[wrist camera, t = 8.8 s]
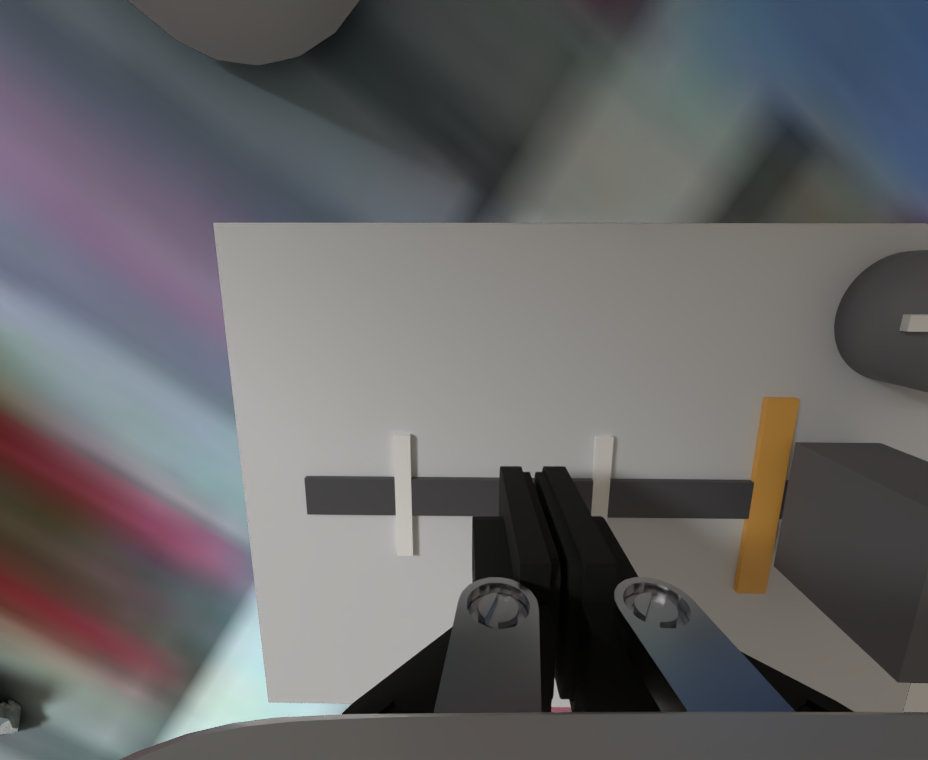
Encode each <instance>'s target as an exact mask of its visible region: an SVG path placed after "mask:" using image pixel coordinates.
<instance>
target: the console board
mask: <svg viewBox="0 0 928 760" xmlns="http://www.w3.org/2000/svg"><path fill="white" fill-rule="evenodd" d="M213 226H214V235H215V243H216V252H217V261H218V269H219V278H220V287H221V295H222V304H223V313H224V321H225V330H226V339H227V347H228V356H229V365H230V373H231V382H232V390H233V399H234V408H235V416H236V425H237V434H238V442H239V451H240V460H241V468H242V477H243V486H244V494H245V503H246V512H247V520H248V529H249V538H250V546H251V555H252V564H253V572H254V581H255V589H256V598H257V607H258V615H259V624H260V633H261V641H262V650H263V659H264V667H265V676H266V685H267V693H268V702H278V703H340V704H352V703H354V702H355V701H356V700H357V699H359V698H360V697H361V696H363V695H364V694H365V693H366V692H368V691H369V690H370V689H372V688H373V687H374V686H376V685H377V684H378V683H379V682H381V681H382V680H383V679H385V678H386V677H387V676H389V675H390V674H391V673H393V672H394V671H395V670H396V669H398V668H399V667H400V666H402V665H403V664H404V663H406V662H407V661H408V660H410V659H411V658H412V657H413V656H415V655H416V654H417V653H419V652H420V651H421V650H423V649H424V648H425V647H427V646H428V645H429V644H430V643H432V642H433V641H434V640H436V639H437V638H438V637H440V636H441V635H442V634H443V633H445V632H446V631H447V630H449V629H450V628H451V627H453V622H454V618H455V613H456V609H457V604H458V600H459V597H460V595H461V593H462V591H463V590H464V589H465V588H466V587H467V586H468V585H469V584H471V583H472V516H499V474H500V466H521V467H522V470H523V472H530V474H531V477H532V480H533V483H534V478H535V472H542V469H543V466H565V467H566V469H567V471H568V472H569V474H570V476H571V478H572V480H573V482H574V484H575V486H576V487H577V489H578V491H579V493H580V495H581V497H582V499H583V501H584V502H585V504H586V506H587V508H588V510H589V512H590V514H591V515H592V516H602V517H603V518H604V519H605V520H606V522H607V523H608V525H609V527H610V529H611V530H612V532H613V534H614V535H615V537H616V539H617V541H618V542H619V544H620V546H621V548H622V549H623V551H624V553H625V554H626V556H627V558H628V560H629V561H630V563H631V565H632V566H633V568H634V570H635V572H636V573H637V575H638V577H648V578H653V579H658V580H661V581H664V582H667V583H669V584H672V585H674V586H675V587H677V588H679V589H680V590H682V591H684V592H685V593H686V594H687V595H688V596H689V597H691V598H692V599H693V600H694V601H695V602H696V604H697V605H698V606H699V607H700V608H701V609H702V610H703V611H704V612H705V613H706V614H707V616H708V617H709V618H710V619H711V620H712V621H713V622H714V623H715V624H716V625H717V626H718V628H719V629H720V630H721V631H722V632H723V633H724V634H725V635H726V636H727V637H728V638H729V640H730V641H731V642H732V643H733V644H734V645H735V646H736V647H737V648H738V649H739V650H740V651H741V652H743V653H745V654H747V655H749V656H751V657H752V658H754V659H756V660H758V661H760V662H762V663H764V664H766V665H768V666H770V667H772V668H774V669H776V670H778V671H780V672H781V673H783V674H785V675H787V676H789V677H791V678H793V679H795V680H797V681H799V682H801V683H803V684H805V685H807V686H809V687H810V688H812V689H814V690H816V691H818V692H820V693H822V694H824V695H826V696H828V697H830V698H832V699H834V700H836V701H837V702H839V703H841V704H842V705H844V706H846V707H847V708H849V709H851V710H852V711H854V712H903V710H904V706H905V702H906V699H907V695H908V692H909V688H910V684H911V683H898V682H897V681H896V680H895V679H893V678H892V677H891V676H890V675H889V674H888V673H887V672H886V671H885V670H884V669H883V668H882V667H881V666H880V665H879V664H877V663H876V662H875V661H874V660H873V659H872V658H871V657H870V656H869V655H868V654H867V653H866V652H865V651H864V650H863V649H861V648H860V647H859V646H858V645H857V644H856V643H855V642H854V641H853V640H852V639H851V638H850V637H849V636H848V635H847V634H845V633H844V632H843V631H842V630H841V629H840V628H839V627H838V626H837V625H836V624H835V623H834V622H833V621H832V620H831V619H829V618H828V617H827V616H826V615H825V614H824V613H823V612H822V611H821V610H820V609H819V608H818V607H817V606H816V605H815V604H813V603H812V602H811V601H810V600H809V599H808V598H807V597H806V596H805V595H804V594H803V593H802V592H801V591H800V590H799V589H797V588H796V587H795V586H794V585H793V584H792V583H791V582H790V581H789V580H788V579H787V578H786V577H785V576H784V575H783V574H781V573H780V572H779V571H778V570H777V569H776V568H775V567H774V560H775V555H776V549H777V543H778V538H779V532H780V526H781V521H782V515H783V509H784V504H785V498H786V492H787V487H788V481H789V475H790V470H791V464H792V459H793V453H794V447H795V442H822V443H882V444H884V445H887V446H890V447H892V448H895V449H897V450H900V451H902V452H905V453H907V454H910V455H912V456H915V457H918V458H920V459H923V460H925V461H928V223H213ZM551 707H571V705H570V701H569V699H560V697H559V693H558V689H557V685H556V680H555V679H554V695H553V699H552V703H551Z"/></svg>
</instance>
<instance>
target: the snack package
mask: <svg viewBox="0 0 928 760" xmlns="http://www.w3.org/2000/svg"><path fill="white" fill-rule="evenodd" d="M20 714H21V707H20V705H19V704H18V703H15V702H14V700H10V699H9V700H8V701H7V704H6V703H5V702H2V703H0V717H2V718H7V719H9V721H7V722H5V723H3V724H2V725H1V726H0V734H5V733H8V734H9V733H12V734H13V732H15V731H16V732H18V728H19V722H20Z"/></svg>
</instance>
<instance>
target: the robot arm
mask: <svg viewBox="0 0 928 760" xmlns="http://www.w3.org/2000/svg"><path fill="white" fill-rule="evenodd" d="M554 679H555V680H556V685H557V689H558V693H559V697H560V699H569V701H570V705H571V709H572V712H551V703H552V699H553V695H554ZM120 760H928V713H918V712H916V713H915V712H914V713H913V712H912V713H911V712H907V713H906V712H854V711H852V710H851V709H849V708H847V707H846V706H844V705H842V704H841V703H839V702H837V701H836V700H834V699H832V698H830V697H828V696H826V695H824V694H822V693H820V692H818V691H816V690H814V689H812V688H810V687H809V686H807V685H805V684H803V683H801V682H799V681H797V680H795V679H793V678H791V677H789V676H787V675H785V674H783V673H781V672H780V671H778V670H776V669H774V668H772V667H770V666H768V665H766V664H764V663H762V662H760V661H758V660H756V659H754V658H752V657H751V656H749V655H747V654H745V653H743V652H741V651H740V650H739V649H738V648H737V647H736V646H735V645H734V644H733V643H732V642H731V641H730V640H729V638H728V637H727V636H726V635H725V634H724V633H723V632H722V631H721V630H720V629H719V628H718V626H717V625H716V624H715V623H714V622H713V621H712V620H711V619H710V618H709V617H708V616H707V614H706V613H705V612H704V611H703V610H702V609H701V608H700V607H699V606H698V605H697V604H696V602H695V601H694V600H693V599H692V598H691V597H689V596H688V595H687V594H686V593H685V592H684V591H682V590H680V589H679V588H677V587H675V586H674V585H672V584H669V583H667V582H664V581H661V580H658V579H653V578H648V577H638V575H637V573H636V572H635V570H634V568H633V566H632V565H631V563H630V561H629V560H628V558H627V556H626V554H625V553H624V551H623V549H622V548H621V546H620V544H619V542H618V541H617V539H616V537H615V535H614V534H613V532H612V530H611V529H610V527H609V525H608V523H607V522H606V520H605V519H604V518H603V517H602V516H592V515H591V514H590V512H589V510H588V508H587V506H586V504H585V502H584V501H583V499H582V497H581V495H580V493H579V491H578V489H577V487H576V486H575V484H574V482H573V480H572V478H571V476H570V474H569V472H568V471H567V469H566V467H565V466H543V469H542V472H535V478H534V483H533V480H532V477H531V474H530V472H523V470H522V467H521V466H500V474H499V516H472V583H471V584H469V585H468V586H467V587H466V588H465V589H464V590H463V591H462V593H461V595H460V597H459V600H458V604H457V609H456V613H455V618H454V622H453V627H451V628H450V629H449V630H447V631H446V632H445V633H443V634H442V635H441V636H440V637H438V638H437V639H436V640H434V641H433V642H432V643H430V644H429V645H428V646H427V647H425V648H424V649H423V650H421V651H420V652H419V653H417V654H416V655H415V656H413V657H412V658H411V659H410V660H408V661H407V662H406V663H404V664H403V665H402V666H400V667H399V668H398V669H396V670H395V671H394V672H393V673H391V674H390V675H389V676H387V677H386V678H385V679H383V680H382V681H381V682H379V683H378V684H377V685H376V686H374V687H373V688H372V689H370V690H369V691H368V692H366V693H365V694H364V695H363V696H361V697H360V698H359V699H357V700H356V701H355V702H354V703H352V704H351V705H350V706H349V707H348V708H347V709H346V710H345V711H344V712H343V713H342V715H322V716H302V717H281V718H269V719H261V720H254V721H246V722H239V723H232V724H227V725H223V726H219V727H214V728H210V729H206V730H202V731H197V732H193V733H189V734H185V735H183V736H180V737H177V738H174V739H171V740H168V741H166V742H163V743H160V744H157V745H154V746H152V747H149V748H146V749H143V750H140V751H138V752H136V753H133V754H131V755H129V756H127V757H124V758H122V759H120Z"/></svg>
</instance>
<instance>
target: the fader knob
mask: <svg viewBox="0 0 928 760" xmlns="http://www.w3.org/2000/svg"><path fill="white" fill-rule="evenodd" d="M774 567H775V568H776V569H777V570H778V571H779V572H780V573H781V574H783V575H784V576H785V577H786V578H787V579H788V580H789V581H790V582H791V583H792V584H793V585H794V586H795V587H796V588H797V589H799V590H800V591H801V592H802V593H803V594H804V595H805V596H806V597H807V598H808V599H809V600H810V601H811V602H812V603H813V604H815V605H816V606H817V607H818V608H819V609H820V610H821V611H822V612H823V613H824V614H825V615H826V616H827V617H828V618H829V619H831V620H832V621H833V622H834V623H835V624H836V625H837V626H838V627H839V628H840V629H841V630H842V631H843V632H844V633H845V634H847V635H848V636H849V637H850V638H851V639H852V640H853V641H854V642H855V643H856V644H857V645H858V646H859V647H860V648H861V649H863V650H864V651H865V652H866V653H867V654H868V655H869V656H870V657H871V658H872V659H873V660H874V661H875V662H876V663H877V664H879V665H880V666H881V667H882V668H883V669H884V670H885V671H886V672H887V673H888V674H889V675H890V676H891V677H892V678H893V679H895V680H896V681H897V682H898V683H928V461H925V460H923V459H920V458H918V457H915V456H912V455H910V454H907V453H905V452H902V451H900V450H897V449H895V448H892V447H890V446H887V445H884V444H882V443H822V442H795V447H794V453H793V459H792V464H791V470H790V475H789V481H788V487H787V492H786V498H785V504H784V509H783V515H782V521H781V526H780V532H779V538H778V543H777V549H776V555H775V560H774Z"/></svg>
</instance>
